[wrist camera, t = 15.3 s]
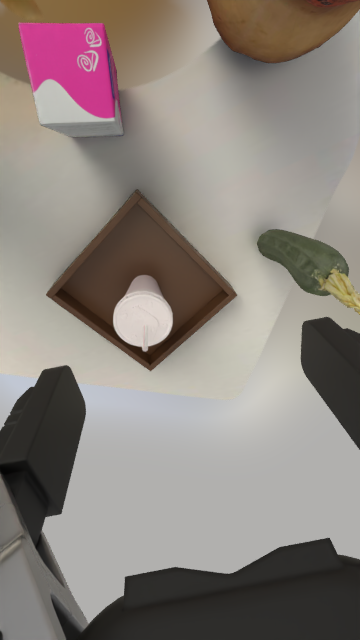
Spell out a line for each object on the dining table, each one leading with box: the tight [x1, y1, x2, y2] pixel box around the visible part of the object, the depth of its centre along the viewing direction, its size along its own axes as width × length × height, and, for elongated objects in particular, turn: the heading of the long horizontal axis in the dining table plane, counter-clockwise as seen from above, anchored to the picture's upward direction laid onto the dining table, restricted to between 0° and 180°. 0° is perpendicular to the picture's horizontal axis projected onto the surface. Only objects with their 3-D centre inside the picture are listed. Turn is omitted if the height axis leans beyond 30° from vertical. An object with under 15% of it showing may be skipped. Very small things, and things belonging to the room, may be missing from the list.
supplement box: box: [19, 23, 124, 137], centre depth 26 cm, size 6×6×12 cm
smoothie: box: [113, 275, 173, 351], centre depth 34 cm, size 6×6×14 cm
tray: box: [46, 190, 237, 371], centre depth 39 cm, size 18×17×3 cm
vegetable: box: [257, 229, 360, 315], centre depth 30 cm, size 4×4×20 cm
